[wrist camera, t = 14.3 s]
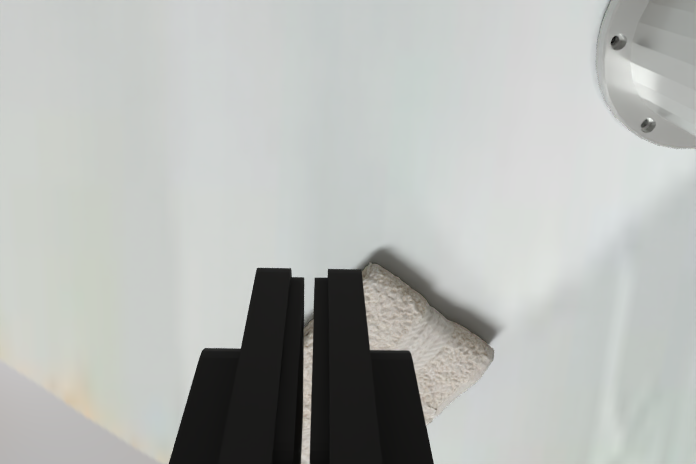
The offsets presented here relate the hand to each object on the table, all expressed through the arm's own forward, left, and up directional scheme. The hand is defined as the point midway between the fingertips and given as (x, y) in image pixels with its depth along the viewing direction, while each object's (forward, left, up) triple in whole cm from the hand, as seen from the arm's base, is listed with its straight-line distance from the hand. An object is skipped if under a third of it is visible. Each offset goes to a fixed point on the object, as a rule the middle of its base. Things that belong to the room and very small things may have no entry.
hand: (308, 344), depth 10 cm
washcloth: (-2, +24, -28) cm, 36 cm away
